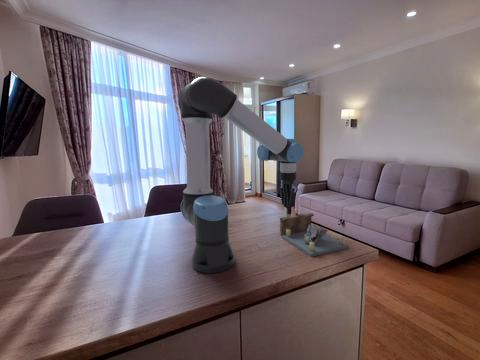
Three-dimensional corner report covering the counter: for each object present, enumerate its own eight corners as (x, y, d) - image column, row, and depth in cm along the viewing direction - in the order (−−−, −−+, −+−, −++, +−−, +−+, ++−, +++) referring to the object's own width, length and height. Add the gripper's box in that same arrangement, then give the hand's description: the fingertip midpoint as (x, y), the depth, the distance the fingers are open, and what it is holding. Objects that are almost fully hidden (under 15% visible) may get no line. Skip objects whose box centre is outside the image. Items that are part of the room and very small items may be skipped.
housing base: (310, 256, 91) (311, 245, 91) (282, 238, 110) (282, 229, 109) (348, 247, 98) (348, 237, 97) (315, 231, 116) (315, 223, 116)
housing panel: (283, 237, 110) (283, 219, 109) (280, 234, 113) (280, 217, 112) (313, 231, 116) (313, 214, 115) (309, 229, 119) (309, 212, 118)
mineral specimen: (308, 250, 105) (328, 251, 97) (295, 241, 102) (315, 241, 94) (314, 230, 110) (333, 230, 102) (302, 220, 107) (322, 219, 99)
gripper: (303, 172, 113) (302, 222, 116) (287, 170, 125) (287, 215, 128) (288, 173, 110) (288, 225, 113) (274, 171, 122) (274, 217, 125)
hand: (287, 220), depth 121 cm, fingers closed
